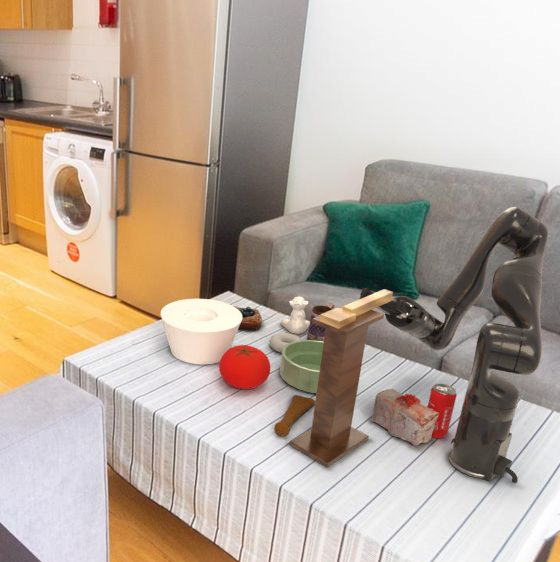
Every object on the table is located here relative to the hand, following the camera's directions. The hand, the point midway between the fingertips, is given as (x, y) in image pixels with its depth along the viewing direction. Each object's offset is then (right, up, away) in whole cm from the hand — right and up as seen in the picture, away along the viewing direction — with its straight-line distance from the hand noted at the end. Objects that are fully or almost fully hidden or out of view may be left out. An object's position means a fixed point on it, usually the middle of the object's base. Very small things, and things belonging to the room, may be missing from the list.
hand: (380, 298), depth 130 cm
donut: (-8, -16, +49) cm, 52 cm away
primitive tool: (-15, -30, +15) cm, 37 cm away
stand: (-10, -33, +5) cm, 35 cm away
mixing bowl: (-4, -23, +32) cm, 40 cm away
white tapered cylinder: (-34, -17, +47) cm, 61 cm away
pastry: (-18, -10, +65) cm, 68 cm away
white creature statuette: (-1, -12, +61) cm, 62 cm away
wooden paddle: (-6, -3, -4) cm, 8 cm away
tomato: (-25, -24, +30) cm, 46 cm away
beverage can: (+17, -32, +9) cm, 37 cm away
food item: (+9, -32, +9) cm, 35 cm away
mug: (+4, -15, +53) cm, 55 cm away
